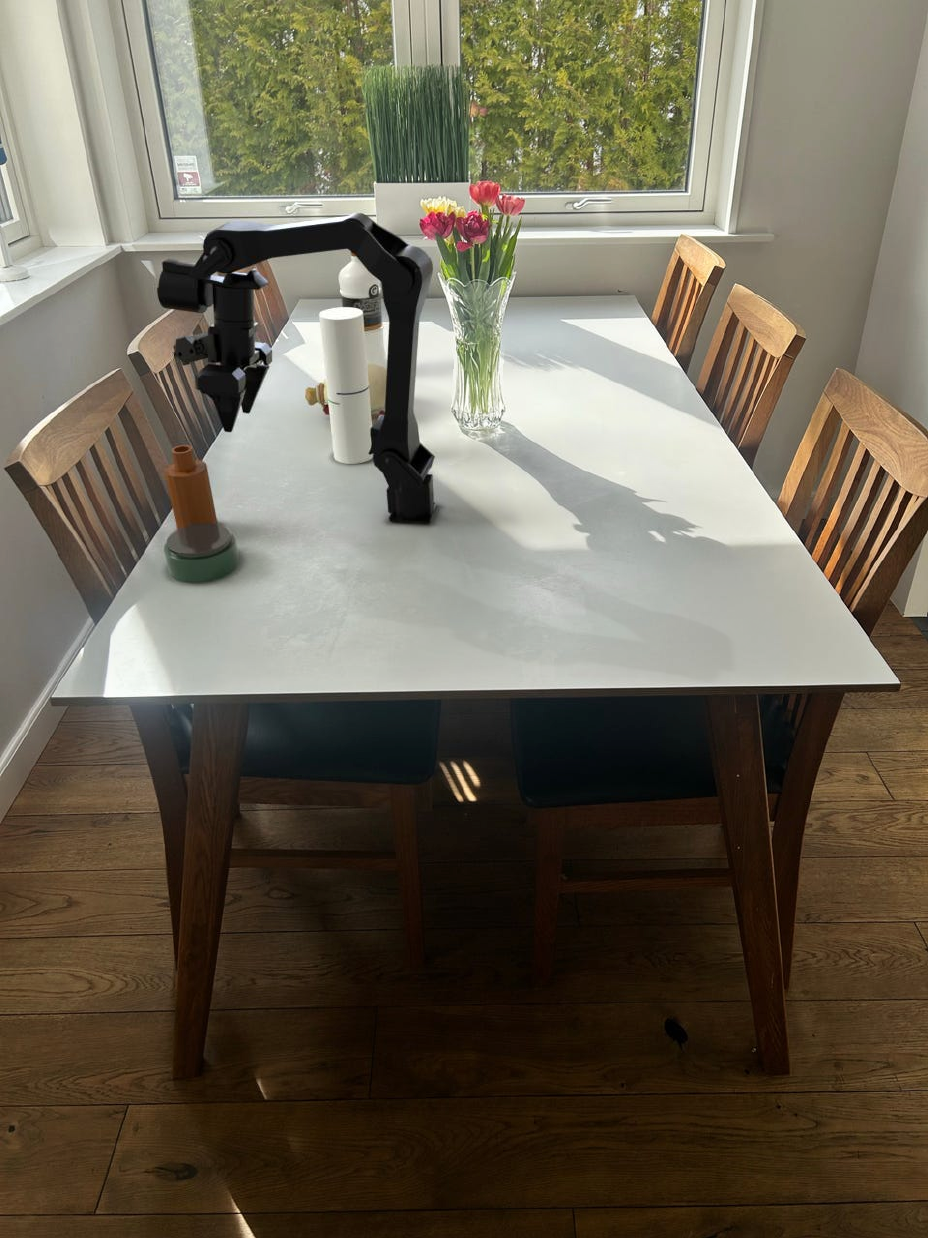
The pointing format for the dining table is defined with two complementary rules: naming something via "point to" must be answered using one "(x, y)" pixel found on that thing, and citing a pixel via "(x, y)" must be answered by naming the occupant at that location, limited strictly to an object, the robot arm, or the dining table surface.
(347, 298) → the vodka
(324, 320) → the cylindrical container
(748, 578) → the dining table surface
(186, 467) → the amber bottle
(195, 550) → the green jar
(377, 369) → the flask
